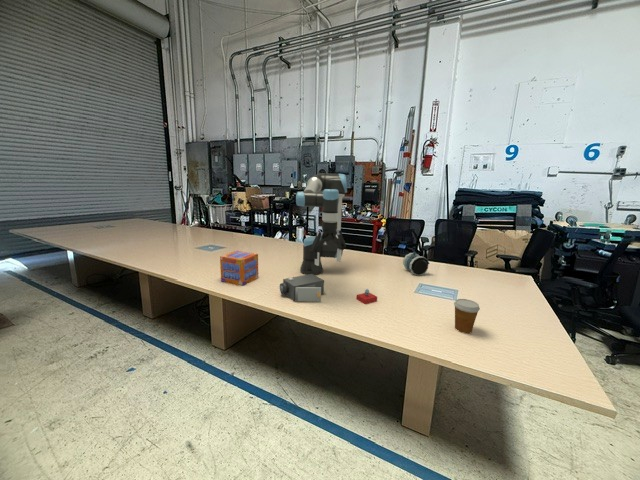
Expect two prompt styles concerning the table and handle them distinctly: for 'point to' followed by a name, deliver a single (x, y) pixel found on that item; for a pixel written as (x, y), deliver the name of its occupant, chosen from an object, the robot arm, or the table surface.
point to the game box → (239, 267)
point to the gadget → (415, 263)
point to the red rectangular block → (366, 297)
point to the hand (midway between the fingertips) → (328, 263)
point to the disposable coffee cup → (465, 314)
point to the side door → (307, 293)
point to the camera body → (300, 284)
